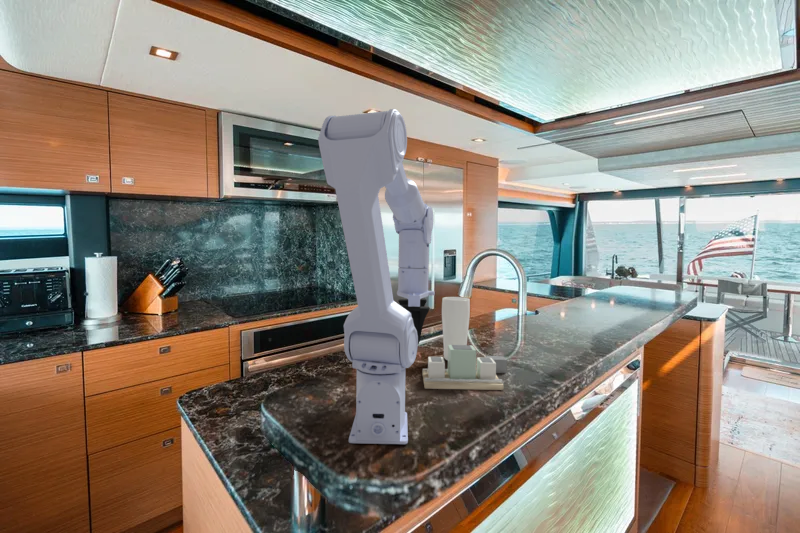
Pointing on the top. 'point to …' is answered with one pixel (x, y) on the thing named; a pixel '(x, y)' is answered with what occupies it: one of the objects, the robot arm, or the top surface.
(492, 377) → the mounted modules
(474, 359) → the box
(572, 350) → the top surface
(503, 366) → the block
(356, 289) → the robot arm
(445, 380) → the din rail
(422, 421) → the top surface
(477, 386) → the rail panel
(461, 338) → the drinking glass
